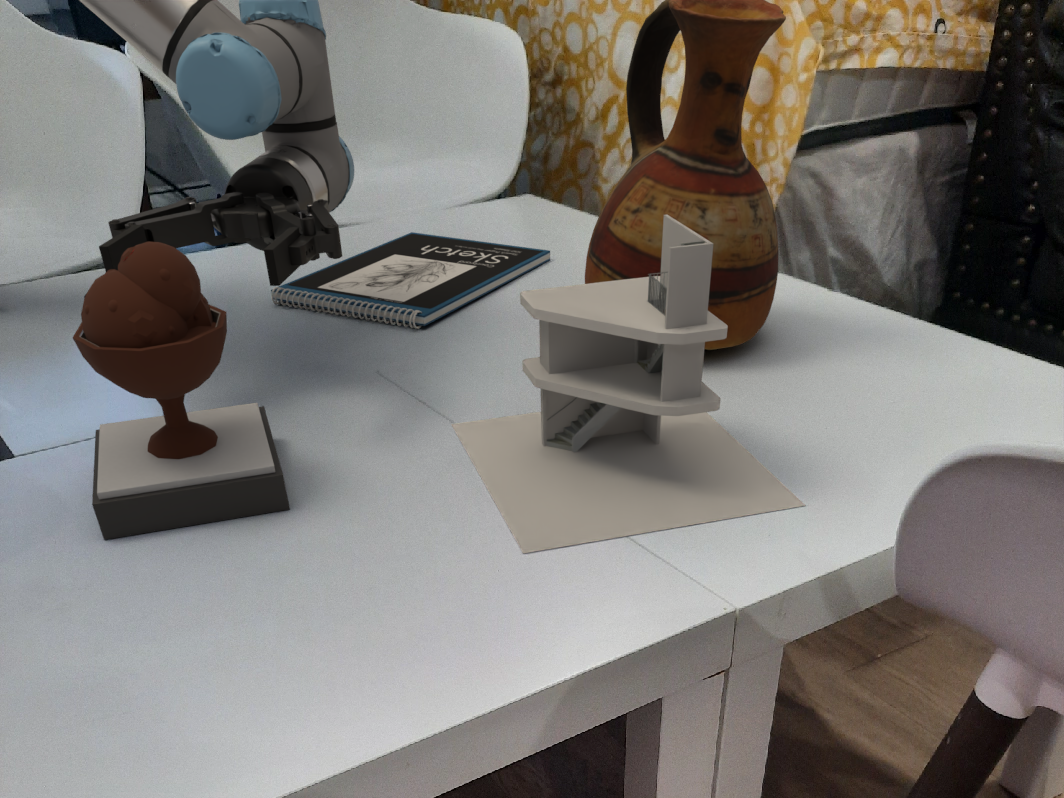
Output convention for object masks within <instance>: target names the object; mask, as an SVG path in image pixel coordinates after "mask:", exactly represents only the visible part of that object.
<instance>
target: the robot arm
mask: <svg viewBox="0 0 1064 798" xmlns="http://www.w3.org/2000/svg"><path fill="white" fill-rule="evenodd" d="M78 1H79V2H80V3H82V5H84V7H86V8H87V9H88V10H89V11H90V12H92V13H93V14H95V16H97V17H98V19H100V20H101V21H103V22H104V24H106V25H107V26H108V27H109V28H110V29H111V30H112V31H114V32H115V33H116V34H117V35H119V36H120V37H121V38H122V39H123V40H124V41H126V42H127V43H128V44H129V45H130V46H131V47H133V48H134V49H135V50H136V51H137V52H138V53H139V54H141V55H142V56H143V57H144V58H145V59H147V60H148V61H149V62H150V63H151V64H152V65H153V66H154V67H155V68H157V69H158V70H159V71H160V72H161V73H162V74H164V75H165V76H166V77H167V78H168V79H170V80H171V81H172V82H173V83H174V84H175V85H176V91H177V96H178V98H179V100H180V102H181V104H182V106H183V108H184V110H185V112H186V114H187V115H188V118H190V120H191V121H192V123H194V124H195V126H197V127H198V129H200V130H201V131H203V132H204V133H206V134H208V135H209V136H211V137H213V138H217V139H219V140H226V141H234V140H240V139H244V138H248V137H254V136H257V135H259V134H260V133H261V134H262V141H263V145H264V146H263V147H264V152H263V153H261V154H260V155H258V156H257V157H255V158H254V159H252V160H250V162H248V163H247V164H245V165H243V166H242V167H240V168H239V169H237V170H236V171H235V172H234V173H233V174H232V175H231V177H230V178H229V180H228V182H227V185H226V188H225V191H224V194H222V195H221V197H219V198H214V199H210V200H205V201H204V200H203V201H199V202H197V198H195V197H193V196H186V197H185V198H183V199H181V200H178V201H176V202H174V203H171V204H168V205H167V204H166V205H164V206H160V207H156V208H152V209H149V210H145V211H142V212H139V213H135V214H131V215H128V216H127V215H126V216H124V217H120V218H114V219H111V220H109V221H108V227H109V231H110V234H111V238H110V239H108V240H107V241H105V242H103V243H101V245H99V246H98V248H99V253H100V255H101V260H102V264H103V267H104V270H105V273H106V272H107V271H108V270H111V269H115V270H117V271H118V264H119V262H120V259H121V256H122V254H123V253H124V252H125V251H126V250H127V249H128V248H130V247H134V246H136V245H138V244H142V243H145V242H161V243H164V244H167V245H170V246H172V247H175V248H176V249H180V248H184V247H190V246H194V245H198V244H203V243H204V244H207V245H209V246H211V247H217V246H221V245H227V244H231V243H236V244H244V243H246V244H248V245H249V246H251V247H252V248H255V249H257V250H259V251H262V252H263V255H264V260H265V265H266V270H267V271H266V272H267V276H268V281H269V286H271V287H272V286H273V287H279V286H282V285H283V283H284V282H285V281H286V280H287V279H288V278H289V277H291V275H292V274H293V273H295V272H296V270H298V269H299V268H300V267H301V266H304V265H307V264H308V263H309V262H310V261H311V262H315V261H316V260H319V259H321V256H320V254H326V256H327V258H328V259H333V260H338V259H341V258H343V248H342V242H341V234H340V226H339V224H338V222H337V221H336V220H335V219H334V217H333V215H332V214H331V212H334V210H336V209H337V208H339V206H340V205H341V204H342V203H343V202H344V201H345V199H346V197H347V195H348V193H349V192H350V190H351V188H352V186H353V183H354V179H355V163H354V158H353V155H352V153H351V150H350V149H349V147H348V145H347V144H346V142H345V140H344V139H343V138H342V137H341V136H340V134H339V128H338V122H337V116H336V110H335V102H334V95H333V87H332V80H331V72H330V65H329V58H328V49H327V42H326V41H327V32H326V30H325V27H324V23H323V18H322V12H321V6H320V3H319V0H238V9H239V17H240V19H239V17H237V16H236V15H235V14H233V12H232V11H230V10H229V9H228V8H227V7H226V6H225V5H224V4H222V3H221V2H220V1H219V0H78ZM215 229H216V230H217V231H218V232H219V233H220V234H216V232H215Z"/></svg>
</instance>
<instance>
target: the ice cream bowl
mask: <svg viewBox="0 0 1064 798" xmlns="http://www.w3.org/2000/svg"><path fill="white" fill-rule="evenodd" d="M227 315H228V314H227V311H226V310H223V309H221V308H218V307H217V306H215V305H212V304H209V301H208V299H207V298H206V297H205V295H204V294H203V293H202V286H201V279H200V276H199V274H198V272H197V269H196V267H195V265H194V264H193V262H192V261H191V260H190V259H189V258H188V257H187V255H186V254H184V253H183V252H182V251H180V250H178V248H175V247H172V246H170V245H167V244H164V243H161V242H145V243H142V244H138V245H136V246H134V247H130V248H128V249H127V250H126V251H125V252H124V253H123V254H122V256H121V259H120V262H119V264H118V271H117V270H115V269H111V270H108V271H107V272H106V271H105V273H103V274H101V275H100V276H98V277H97V278H95V279H94V281H93V283H92V284H91V285H90V287H89V289H88V290H87V292H86V293H85V294H84V297H83V303H82V307H81V313H80V316H81V322H80V324H79V326H78V328H77V329H76V330H75V332H74V334H73V336H72V339H73V341H74V344H75V346H76V347H77V349H78V350H79V352H80V354H81V356H82V358H83V359H84V360H85V361H86V362H87V363H88V365H89V366H90V367H91V368H92V370H94V372H95V373H97V374H98V375H99V376H101V377H103V378H104V379H106V380H107V381H109V382H111V383H112V384H114V385H115V386H117V387H119V388H121V389H123V390H124V391H126V392H128V393H130V394H132V395H135V396H138V397H140V398H143V399H154V400H156V402H157V403H158V404H159V405H160V407H161V409H162V416H164V419H165V423H166V425H164V426H163V427H162V428H160V429H159V430H158V431H157V432H155V433H154V434H153V435H151V437H150V440H149V443H148V452H149V453H151V454H152V455H154V456H156V457H157V458H164V459H183V458H187V457H192V456H197V455H201V454H203V453H205V452H206V451H208V450H210V449H211V448H213V447H215V446H216V443H217V439H218V436H217V435H216V433H215V431H214V430H212V429H210V428H208V427H206V426H205V425H202V424H199V423H195V422H192V421H189V419H188V416H187V410H186V406H185V396H186V394H189V393H190V392H192V391H194V390H197V389H198V388H199V387H201V386H202V385H203V384H204V383H206V381H208V380H209V379H210V378H211V376H212V375H213V374H214V372H215V370H216V369H217V368H218V366H219V365H220V364H221V359H222V356H223V352H224V348H225V344H226V338H227V334H228V319H227V318H228V317H227Z"/></svg>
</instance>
